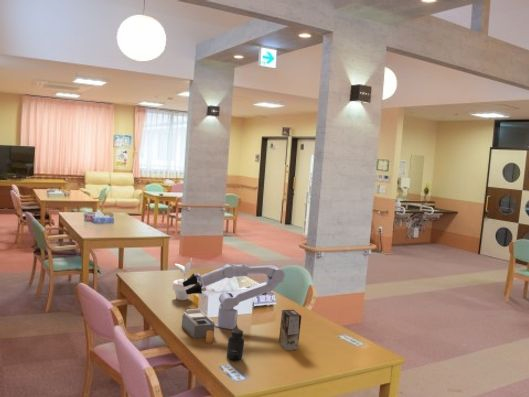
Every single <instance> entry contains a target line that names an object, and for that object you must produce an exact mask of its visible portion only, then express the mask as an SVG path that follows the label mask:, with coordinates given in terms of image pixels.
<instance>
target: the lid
mask: <svg viewBox="0 0 529 397" xmlns="http://www.w3.org/2000/svg"><path fill="white" fill-rule="evenodd" d="M200 311H201V308H192V309H190V308H188V309H186V311H185V312H186V313H187V314H188V315H189V316H190V317H191V318H192V319H198V318H205V316H204V315H203V314H202V313H201V312H200Z"/></svg>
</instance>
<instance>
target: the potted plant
mask: <svg viewBox="0 0 529 397" xmlns="http://www.w3.org/2000/svg"><path fill="white" fill-rule="evenodd" d="M189 260H190V261H189V262H187V263H186V264H185V265H183V264H179V263H174V265H175V267H176V268H178V269H179V271H180V272H181V273H182V274H183V278H179V279H175V280H173V282H172V283H173V284H172V290H174V294H175V298H176V299H177V300H178V301H187V300H189V297H190V295H191V294H187V293H186V291H185V290H187V289H189V288H191V287H193V286H194V284H193V285H189V286H185V287H184V286H183V282H184V281H186V280H187V279H188V278H187V276H188V274H187V273H188V272H190V271H191V266H192V265H195V262H193V261H194V260H193V257H192V256H191V257H190V258H189Z"/></svg>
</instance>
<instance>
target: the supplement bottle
mask: <svg viewBox="0 0 529 397" xmlns="http://www.w3.org/2000/svg"><path fill="white" fill-rule="evenodd" d="M243 334H244V331H243V329H239V328H238V329H237V328H234V329H231V333H230V336H229V337H228V340H227V349H226V359H227V360H229V361H231V362H240V361H242V360H243V355H244V354H243V353H244V347H245V338H244V335H243Z"/></svg>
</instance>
